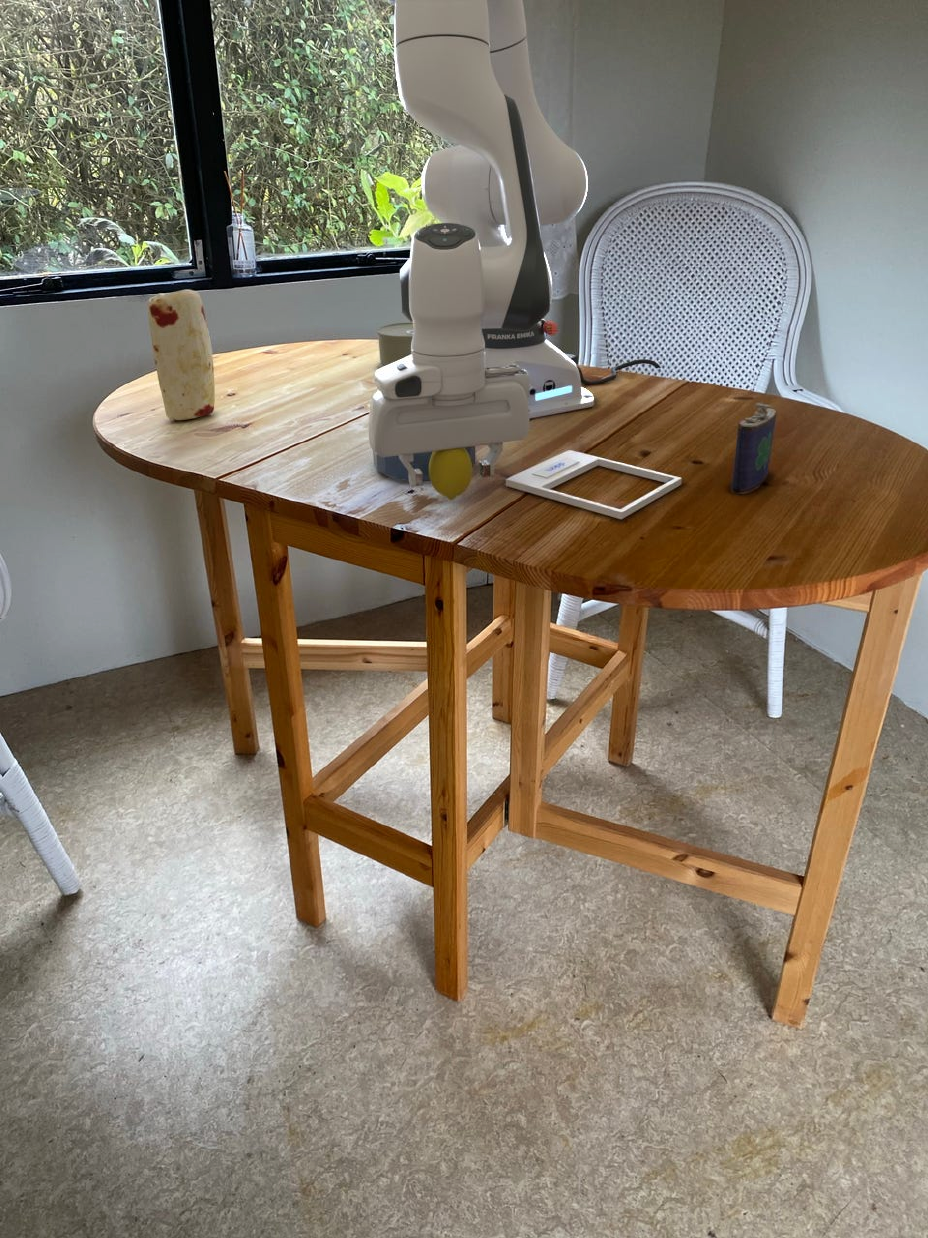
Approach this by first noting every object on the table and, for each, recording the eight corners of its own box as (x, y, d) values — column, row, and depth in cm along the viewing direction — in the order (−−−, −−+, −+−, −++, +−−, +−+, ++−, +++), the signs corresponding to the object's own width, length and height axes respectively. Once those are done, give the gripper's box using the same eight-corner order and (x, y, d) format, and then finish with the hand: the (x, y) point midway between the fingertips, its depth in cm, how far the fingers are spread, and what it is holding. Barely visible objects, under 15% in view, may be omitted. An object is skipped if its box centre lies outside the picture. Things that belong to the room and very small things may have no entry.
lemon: (468, 509, 116) (467, 448, 112) (425, 506, 117) (422, 446, 113) (476, 492, 121) (475, 433, 117) (435, 490, 122) (433, 431, 118)
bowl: (458, 444, 137) (457, 408, 135) (489, 477, 125) (488, 438, 123) (365, 456, 134) (362, 419, 131) (387, 490, 122) (385, 450, 119)
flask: (752, 470, 126) (764, 392, 120) (773, 474, 124) (786, 396, 119) (726, 491, 119) (737, 410, 114) (748, 496, 118) (760, 414, 113)
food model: (178, 427, 147) (155, 297, 137) (156, 419, 151) (132, 292, 141) (229, 413, 153) (211, 287, 143) (206, 406, 157) (187, 283, 147)
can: (416, 354, 186) (414, 319, 182) (453, 365, 178) (452, 329, 174) (367, 365, 179) (364, 328, 176) (403, 376, 171) (401, 339, 168)
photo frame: (569, 448, 131) (681, 476, 121) (569, 455, 132) (681, 484, 121) (505, 477, 122) (621, 510, 111) (505, 485, 122) (621, 519, 112)
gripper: (520, 357, 116) (519, 462, 123) (361, 373, 111) (369, 481, 118) (538, 369, 111) (536, 478, 117) (372, 386, 105) (380, 499, 112)
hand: (451, 480), depth 117 cm, fingers open, 8 cm apart
